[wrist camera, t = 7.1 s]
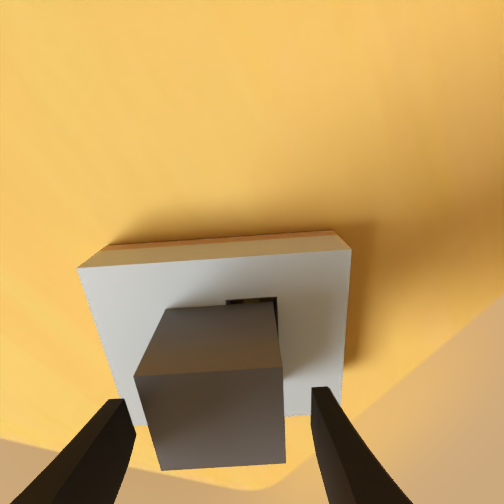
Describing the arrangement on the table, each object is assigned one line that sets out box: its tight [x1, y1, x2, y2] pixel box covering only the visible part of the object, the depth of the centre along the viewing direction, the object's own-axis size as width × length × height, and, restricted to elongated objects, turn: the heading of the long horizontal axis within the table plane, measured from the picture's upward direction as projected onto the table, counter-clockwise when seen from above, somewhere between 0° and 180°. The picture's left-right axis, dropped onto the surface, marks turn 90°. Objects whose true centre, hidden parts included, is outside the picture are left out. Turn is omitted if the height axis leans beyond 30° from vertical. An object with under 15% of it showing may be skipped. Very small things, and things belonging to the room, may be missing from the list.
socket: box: [77, 230, 352, 426], centre depth 15 cm, size 12×10×3 cm
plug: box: [133, 298, 286, 471], centre depth 13 cm, size 5×5×6 cm
